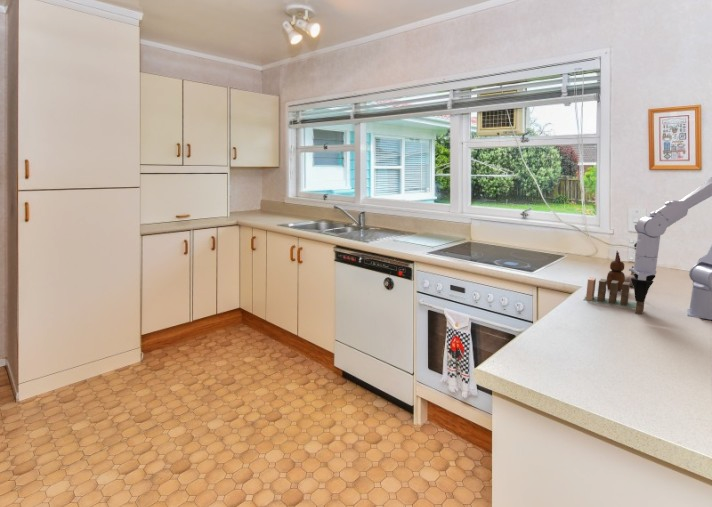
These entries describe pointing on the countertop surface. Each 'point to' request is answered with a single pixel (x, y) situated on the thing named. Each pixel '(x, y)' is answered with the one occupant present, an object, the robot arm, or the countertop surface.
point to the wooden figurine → (616, 272)
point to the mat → (617, 303)
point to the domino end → (590, 288)
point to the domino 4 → (639, 307)
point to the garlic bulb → (629, 277)
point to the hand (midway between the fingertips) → (640, 298)
